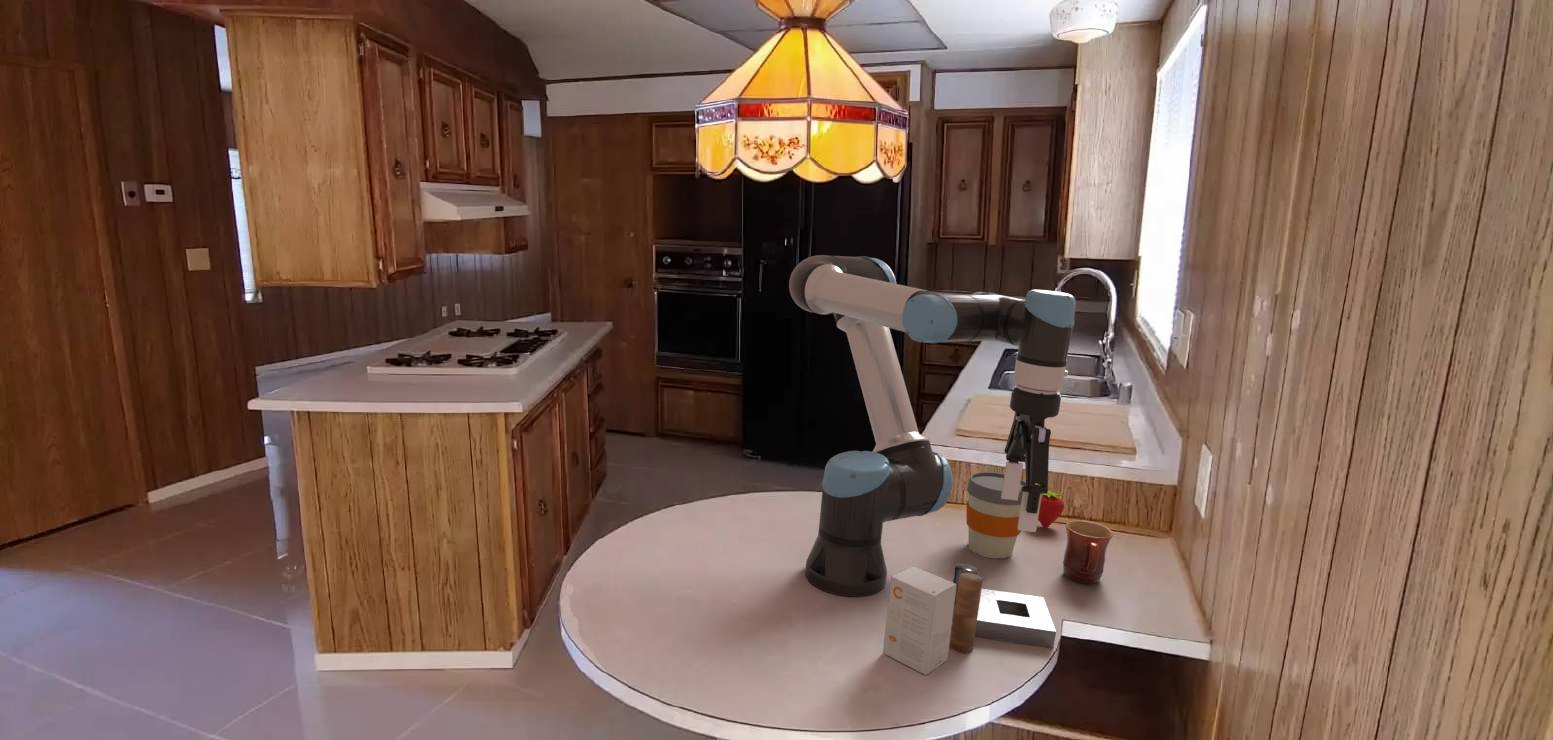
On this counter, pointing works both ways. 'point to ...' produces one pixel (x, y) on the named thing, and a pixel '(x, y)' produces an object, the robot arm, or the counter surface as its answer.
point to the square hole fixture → (1010, 615)
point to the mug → (1085, 551)
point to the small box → (919, 619)
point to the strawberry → (1050, 508)
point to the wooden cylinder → (966, 612)
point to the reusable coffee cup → (992, 516)
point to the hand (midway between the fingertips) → (1017, 514)
